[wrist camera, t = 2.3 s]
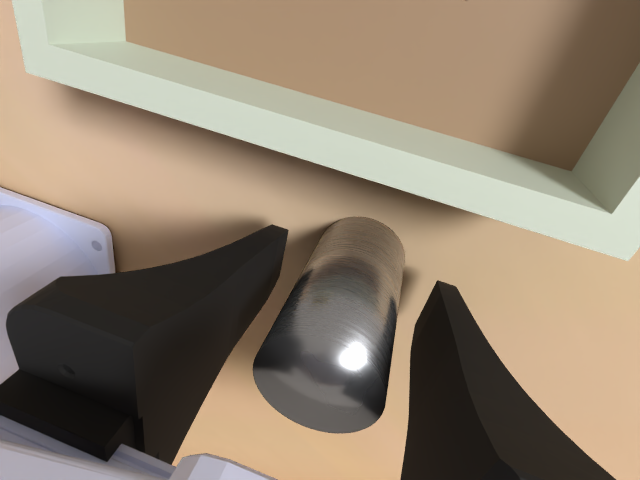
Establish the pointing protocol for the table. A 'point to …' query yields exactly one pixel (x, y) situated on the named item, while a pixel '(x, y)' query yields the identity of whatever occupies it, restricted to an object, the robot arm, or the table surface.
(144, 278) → the robot arm
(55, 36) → the box
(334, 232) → the peg
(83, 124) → the table surface
